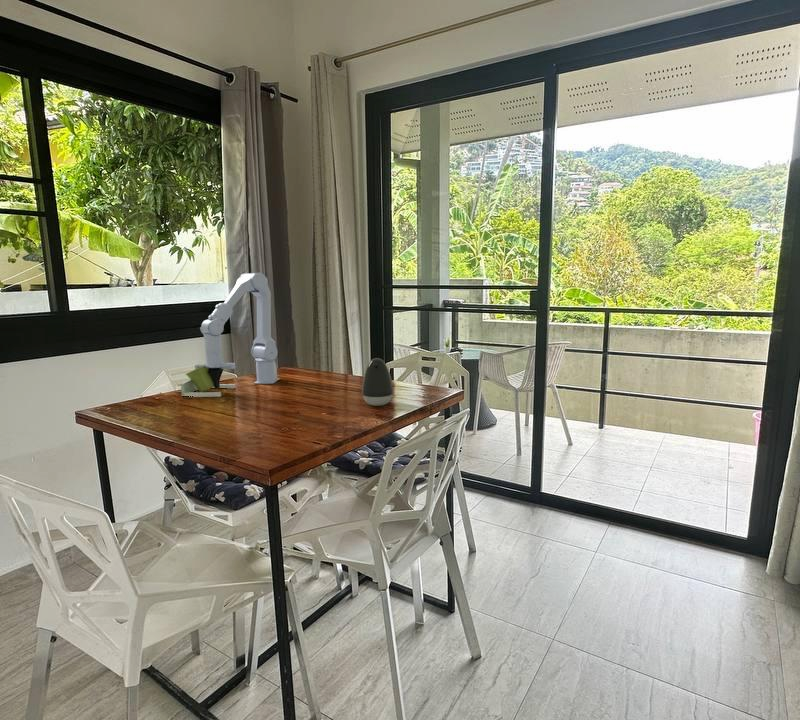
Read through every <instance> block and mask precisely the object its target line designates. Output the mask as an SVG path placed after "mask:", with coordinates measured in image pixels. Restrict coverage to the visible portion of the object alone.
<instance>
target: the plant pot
mask: <svg viewBox="0 0 800 720" xmlns="http://www.w3.org/2000/svg"><path fill="white" fill-rule="evenodd" d="M209 368H211V367H209ZM209 368H208V367H205V365H204V366H202V367H200V368H198V369H195V368H194V369H193V370H191V371H189V372H187V373H185V375H186V376H187V378H188V379H189V380H190V379H191V380H192V382H193V383H194V384H195V386H196V387H197V389H198V392H206V391H208V390H211V389H210V388H213V387H214V382H213V380H212V378H211V376H210V375H209V374H208V371H209Z"/></svg>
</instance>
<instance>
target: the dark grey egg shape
mask: <svg viewBox="0 0 800 720" xmlns="http://www.w3.org/2000/svg"><path fill="white" fill-rule="evenodd" d="M364 372H365V373H364V377H363V380H362V388H361V394H362V396H363V399H364V402H366V403H367V404H368V405H370V406H372V407H382V406H386V405H387V404H389V403H390V401H391V399H392V398H393V394H394V385H393V381H392V377H391V376H392V375H391V373H390V370H389V368H388V366H387V364H386V363H385V361H384V360H383V359H381V358H378V357H375V358H372V359H370V361H369V362H368V364H367V366H366V368H365V371H364Z"/></svg>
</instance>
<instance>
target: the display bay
mask: <svg viewBox="0 0 800 720" xmlns="http://www.w3.org/2000/svg"><path fill="white" fill-rule="evenodd" d="M213 388H215V387H213ZM220 388H227V389H236V383H227V384H226V383H223V384H221V383H220ZM195 390H197V387H196V386H195V384H194V383H193V382H192V380H191V379H190V378H189V379H188V380H186V381H184V382H181V383H180V391H181V392H180V393H181V397H182V396H189V397H188V398H205V397H206V398H213V397H214V398H216V397H218V398H219V397H222V392H221V391H203V392H200V391H196V392H194V391H195ZM190 396H191V397H190ZM192 396H193V397H192Z"/></svg>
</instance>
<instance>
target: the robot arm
mask: <svg viewBox="0 0 800 720" xmlns="http://www.w3.org/2000/svg"><path fill="white" fill-rule="evenodd" d="M249 292H250V293H251V294H252V295H253V296H254V297H255V298H256V337H255V338H254V340H252V341H253V343H252V347H251V351H250V353H251V356H252V357H253V358H254V361H255V369H256V371H255V372H256V381H255V382H253V385H257V384H260V385H261V384H263V385H265V384H266V385H268V384H275V383H276V382H277V381H278V380H280V378H279V377H278V374H277V373H278V372H277V370H278V369H277V363H276V358H277V356H278V348H277V346H276V345H277V344H276V341H275V340H274V339H273V338H272V303H271V302H272V300H271V299H272V293H271V290H270V287H269V281H268V278H267V276H265V275H264V273H262V272H249V273H248V272H244V273H242V274H241V275H240V276H239V278H237V280H236V283H235V285H234V287H233V288H232V290H231V291H230V293H229V294H228V296H227V298H226V299H225V301H224V302H220V303H218V304H216V305H215V307H214V308H215V309H214V310H213V311H212V313H211V314H209V315H208V317H207V318H208V319H205V320H203V321H202V323H201V326H200V327H199V329H200V332H201V334H202V335H203V338H204V349H205V360H206V361H205V362H204V363H195V364H194V370H195V369H198V368H200V367H202V366H204V365H205V367H208V368H209V367H210V368H209V371H208V374H209V375H210V376H211V378H212V380H213V382H214V387H215V389H214V390H216V389H218V388H220V384H221V383H220V382H221V381H220V380H221V378H222V374H223V372H224V370H226V369H227V370H235V369H236V363H235V362H224V359H223V347H222V333H223V332H224V329H225V328H224V326H225V324H226V322H228V320H229V318H230V317H231V315H232V314H233V313H234V310H233V307H234V306H235V305H237V302H239V300H240V299H241V298H242V297H243V295H244V294H245V293H249ZM218 390H219V389H218Z"/></svg>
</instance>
